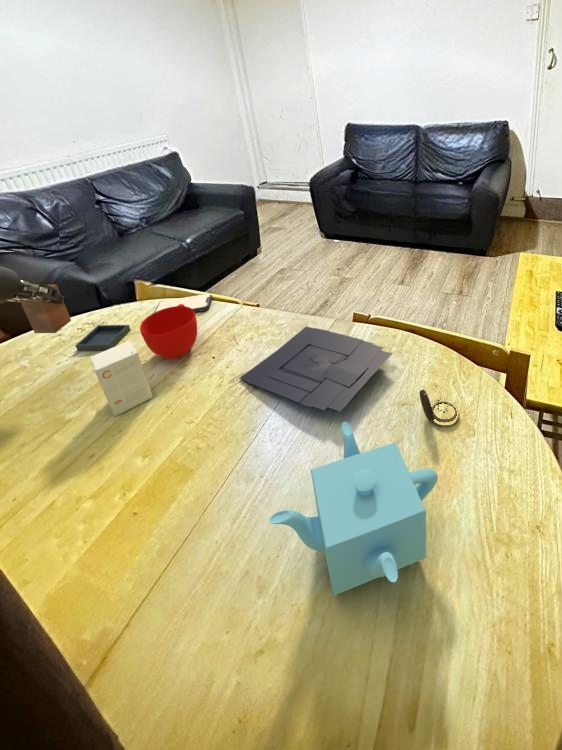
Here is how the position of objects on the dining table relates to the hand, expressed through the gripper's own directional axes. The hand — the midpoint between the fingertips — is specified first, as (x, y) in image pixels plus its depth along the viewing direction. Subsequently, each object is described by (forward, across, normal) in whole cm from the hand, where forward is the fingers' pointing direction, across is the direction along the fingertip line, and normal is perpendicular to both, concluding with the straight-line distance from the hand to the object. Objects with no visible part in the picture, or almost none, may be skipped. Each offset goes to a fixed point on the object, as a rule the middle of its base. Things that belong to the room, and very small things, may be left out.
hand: (49, 300), depth 96 cm
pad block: (+3, 0, +6) cm, 6 cm away
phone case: (+35, -13, -5) cm, 38 cm away
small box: (+8, -19, +22) cm, 30 cm away
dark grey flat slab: (+14, -61, +15) cm, 65 cm away
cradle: (+23, +2, +6) cm, 24 cm away
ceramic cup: (+21, -21, +8) cm, 31 cm away
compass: (+5, -89, +24) cm, 93 cm away
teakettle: (-13, -75, +43) cm, 88 cm away
